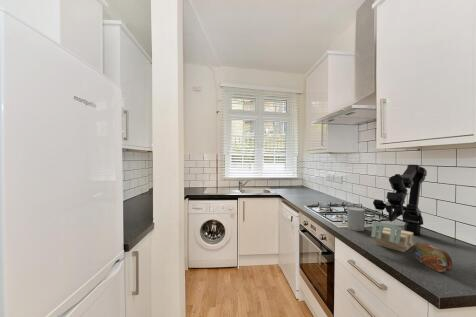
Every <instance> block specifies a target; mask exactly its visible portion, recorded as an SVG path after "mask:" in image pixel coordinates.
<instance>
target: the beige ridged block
mask: <svg viewBox="0 0 476 317" xmlns="http://www.w3.org/2000/svg"><path fill="white" fill-rule="evenodd" d="M396 232H397V230H396V231H395V239H394V242H390V241H389V240H390V233H391V229H390V228H386V227H383V232H382V239H379V238H377V237H378V230H377V231H376V238H375V245H377V246H380V247H383V248H388V249H391V250H395V251H399V252H402V253H405V252H406V251H408V250H409V249H410V248H412V247H414V233H413V232H409V231H404V229H401V236H400V244H398V243H395V240H396Z"/></svg>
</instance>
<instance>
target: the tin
mask: <svg viewBox="0 0 476 317" xmlns="http://www.w3.org/2000/svg"><path fill="white" fill-rule="evenodd" d="M412 250H413V251H412V252H413V255H414V258H415V259H416V260H417V262H419V263H420V262H421V263H420V264H422V263H423V264H422V265H424V264H425V265H424V266H426V267H428V268H430V269H431V268H432V270H433V269H434V270H433V271H435V270H436V272H437V271H438V273H448V272H450V271H451V270H452V268H453V260H452V258H451V256H450V255H449V253H448V252H446V251H445V250H443V249H440V248H439V247H437V246H433V245H431V244H428V243H426V242H417V243H415V244H413V248H412Z"/></svg>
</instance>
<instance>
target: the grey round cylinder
mask: <svg viewBox="0 0 476 317" xmlns="http://www.w3.org/2000/svg"><path fill="white" fill-rule="evenodd" d="M365 211H366V210H365V208H362V207H358V206H357V207H356V206H349V207H348V206H347V223H346V224H347V229H348V230H352V231H357V232H363V231H365V219H366V217H365V213H366V212H365Z"/></svg>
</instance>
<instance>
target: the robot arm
mask: <svg viewBox="0 0 476 317" xmlns="http://www.w3.org/2000/svg"><path fill="white" fill-rule="evenodd" d="M427 175H428V172H427V169H426V168H425V167H422V166H420V165H419V164H408V165H407V167H406V169H405V170H404V172H403V173H402V174H400V173H395V175H392V176H390V177H389V178H388V183H389V184H390V187H391V189H392V190H393V191H392V192H390V191H387V193H386V198H385V199H387V202H385V203H384V200H381V199H373V202H372V204H373V207H374V208H375V209H376V210H378V211H384V210H385V211H386V212H387V214H388V221H389V222H391V223H392V222H393V221H394V220H396V219H398V218H399V217H402V222H403V223H404V227H403V228H404V229H403V230H404V231H409V232H413V233H414V235H415V236H416V235H417V236H422V235H423V234H422V233H421V226H422V225H424V218H423V215H422V212H421V210H420V207H419V202H420V201H419V200H420V192H421V186H422V185H421V184H423V182H424V181H425V179H426V177H427ZM408 189H409V197H408V203H407V204H406V206H405V205H404V204H405V202H406V201H405V200H406V197H407V195H408Z"/></svg>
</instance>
